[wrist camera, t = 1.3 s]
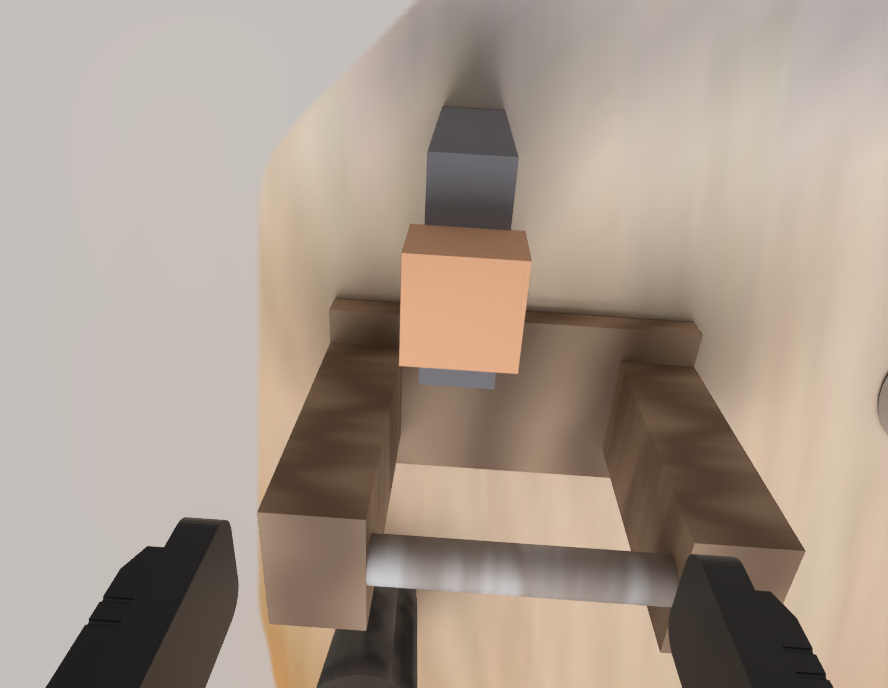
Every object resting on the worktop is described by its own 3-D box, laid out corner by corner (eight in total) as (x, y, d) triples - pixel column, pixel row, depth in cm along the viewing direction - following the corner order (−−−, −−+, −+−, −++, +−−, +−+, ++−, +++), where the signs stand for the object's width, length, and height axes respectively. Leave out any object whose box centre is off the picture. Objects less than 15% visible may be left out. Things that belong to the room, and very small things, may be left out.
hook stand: (693, 322, 36) (823, 508, 22) (656, 465, 40) (745, 690, 27) (334, 298, 36) (252, 469, 23) (339, 443, 41) (272, 655, 27)
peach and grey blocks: (515, 110, 31) (541, 179, 19) (498, 284, 35) (510, 435, 23) (432, 105, 31) (403, 171, 19) (425, 279, 35) (397, 427, 23)
